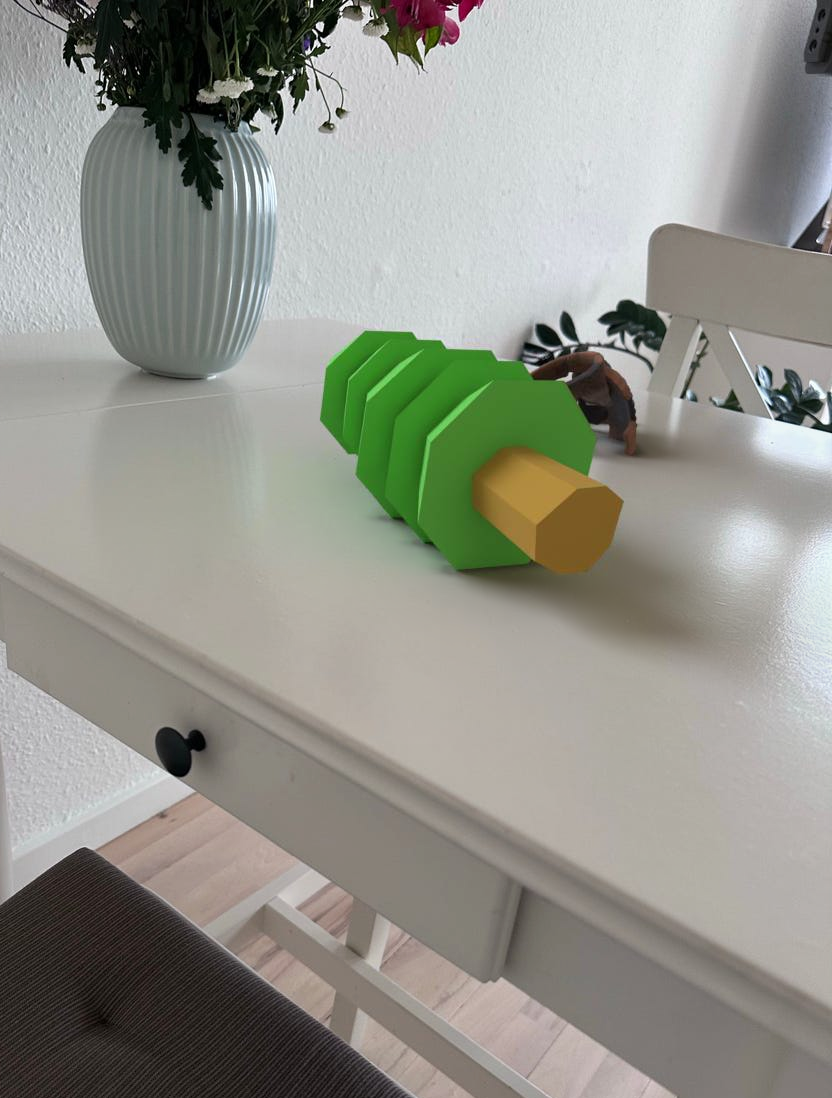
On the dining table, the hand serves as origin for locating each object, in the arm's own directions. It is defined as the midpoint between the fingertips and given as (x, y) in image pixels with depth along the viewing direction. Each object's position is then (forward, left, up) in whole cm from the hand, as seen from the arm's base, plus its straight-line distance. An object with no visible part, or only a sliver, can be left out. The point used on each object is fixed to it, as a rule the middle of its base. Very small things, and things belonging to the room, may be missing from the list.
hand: (824, 74), depth 61 cm
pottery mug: (+6, -10, -27) cm, 30 cm away
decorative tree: (+26, +8, -27) cm, 38 cm away
